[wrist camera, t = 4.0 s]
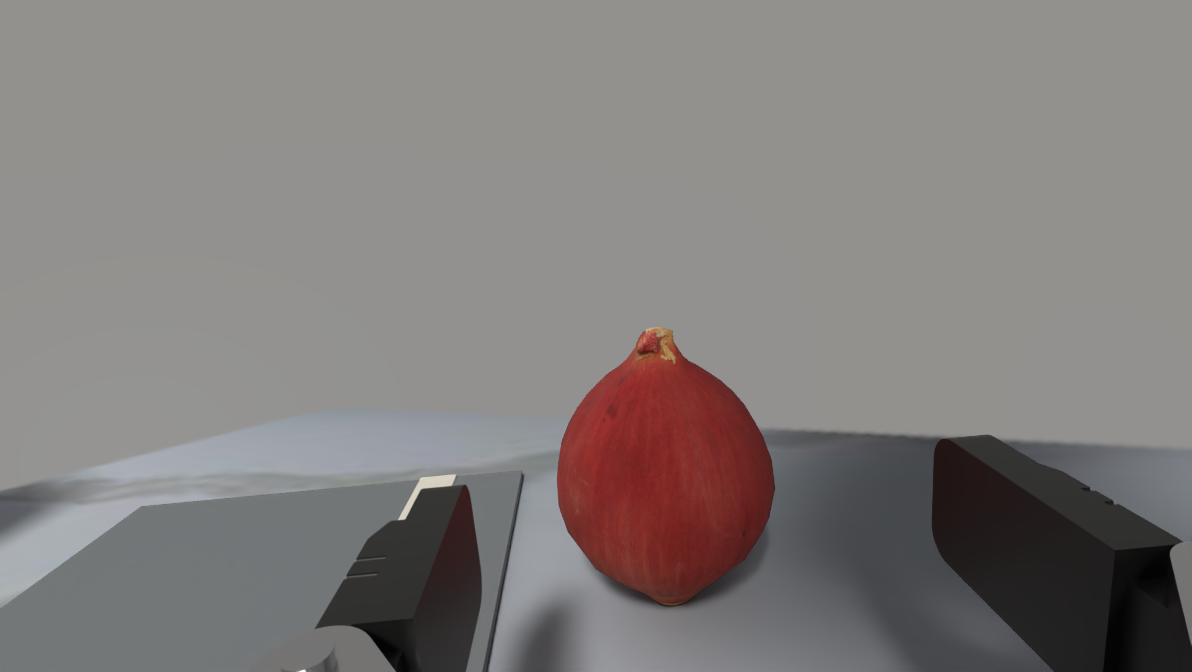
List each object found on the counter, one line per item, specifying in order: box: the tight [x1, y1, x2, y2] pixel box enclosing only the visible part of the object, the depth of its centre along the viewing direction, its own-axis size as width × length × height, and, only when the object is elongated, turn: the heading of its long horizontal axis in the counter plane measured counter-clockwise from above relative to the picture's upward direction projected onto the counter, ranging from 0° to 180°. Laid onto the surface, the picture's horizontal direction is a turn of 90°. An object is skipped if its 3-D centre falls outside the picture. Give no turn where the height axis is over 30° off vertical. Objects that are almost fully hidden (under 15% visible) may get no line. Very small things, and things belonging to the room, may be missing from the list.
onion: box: [557, 326, 775, 605], centre depth 18 cm, size 6×6×8 cm
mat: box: [0, 470, 523, 672], centre depth 18 cm, size 16×18×1 cm
